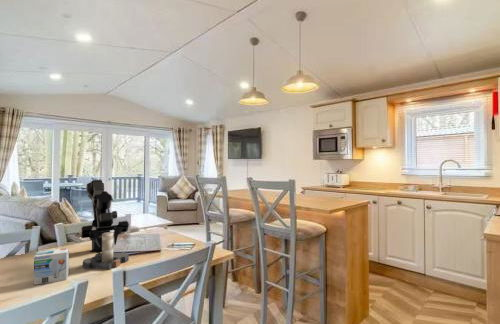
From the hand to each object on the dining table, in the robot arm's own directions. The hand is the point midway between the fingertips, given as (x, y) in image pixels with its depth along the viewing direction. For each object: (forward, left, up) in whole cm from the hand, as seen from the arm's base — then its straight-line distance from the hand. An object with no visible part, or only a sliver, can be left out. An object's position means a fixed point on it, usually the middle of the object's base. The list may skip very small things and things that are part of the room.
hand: (107, 245), depth 122 cm
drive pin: (-1, +1, -9) cm, 9 cm away
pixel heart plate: (-4, +3, -9) cm, 10 cm away
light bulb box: (-13, -16, -9) cm, 22 cm away
